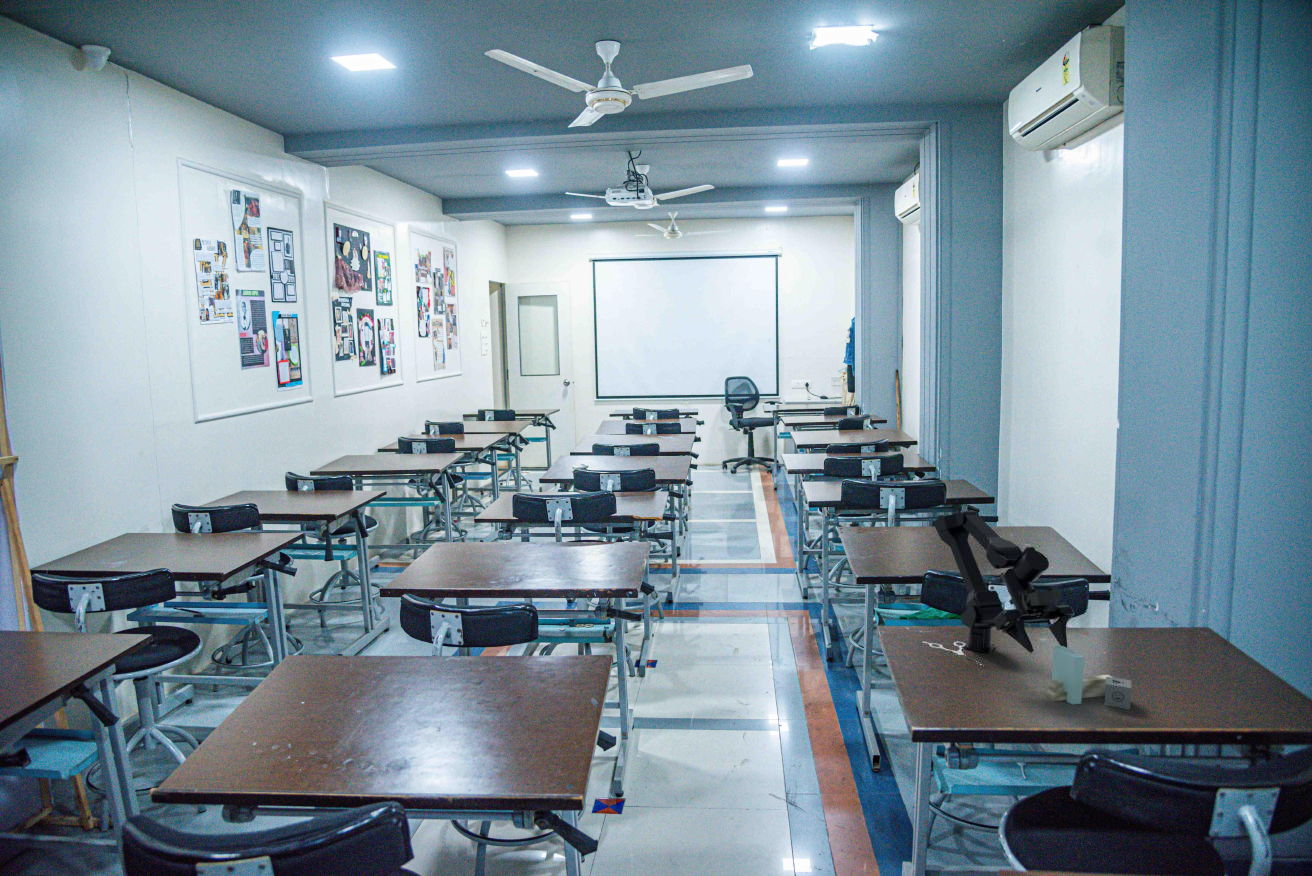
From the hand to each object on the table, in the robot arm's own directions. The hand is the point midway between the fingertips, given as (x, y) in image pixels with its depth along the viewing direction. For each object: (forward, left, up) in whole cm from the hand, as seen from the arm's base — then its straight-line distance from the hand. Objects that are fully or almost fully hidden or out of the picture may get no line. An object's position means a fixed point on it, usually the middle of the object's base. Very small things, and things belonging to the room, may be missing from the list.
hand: (1049, 650), depth 203 cm
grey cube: (0, +15, -9) cm, 17 cm away
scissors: (-10, -23, -10) cm, 27 cm away
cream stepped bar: (+1, +7, -9) cm, 12 cm away
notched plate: (+4, +5, -9) cm, 11 cm away
